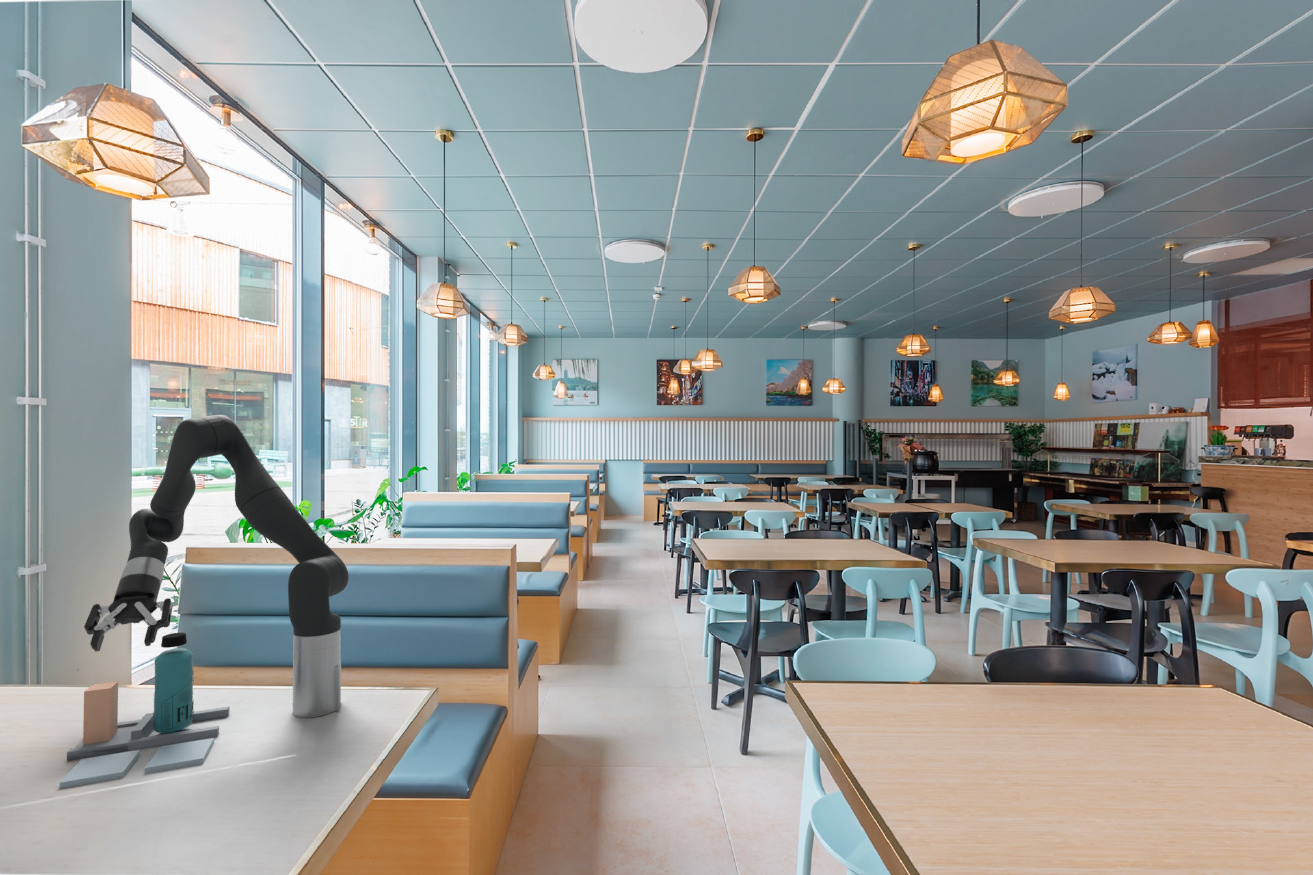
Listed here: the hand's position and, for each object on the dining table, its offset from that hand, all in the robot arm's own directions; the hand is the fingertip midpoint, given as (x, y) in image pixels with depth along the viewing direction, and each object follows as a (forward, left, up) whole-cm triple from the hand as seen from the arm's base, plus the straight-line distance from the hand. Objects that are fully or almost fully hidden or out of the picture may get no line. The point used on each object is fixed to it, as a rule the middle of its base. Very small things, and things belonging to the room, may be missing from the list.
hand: (122, 646), depth 133 cm
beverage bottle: (-12, +11, -16) cm, 23 cm away
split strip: (-10, +24, -16) cm, 31 cm away
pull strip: (-9, +11, -16) cm, 21 cm away
